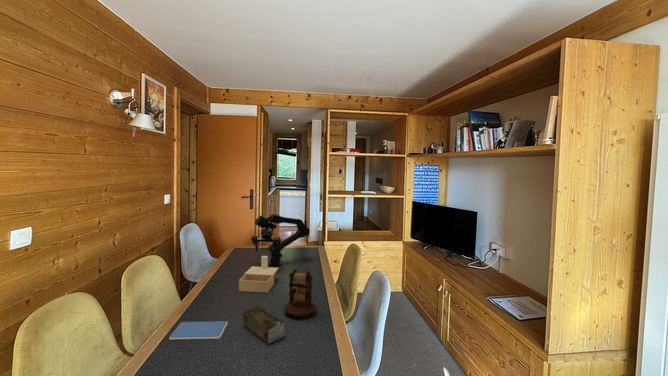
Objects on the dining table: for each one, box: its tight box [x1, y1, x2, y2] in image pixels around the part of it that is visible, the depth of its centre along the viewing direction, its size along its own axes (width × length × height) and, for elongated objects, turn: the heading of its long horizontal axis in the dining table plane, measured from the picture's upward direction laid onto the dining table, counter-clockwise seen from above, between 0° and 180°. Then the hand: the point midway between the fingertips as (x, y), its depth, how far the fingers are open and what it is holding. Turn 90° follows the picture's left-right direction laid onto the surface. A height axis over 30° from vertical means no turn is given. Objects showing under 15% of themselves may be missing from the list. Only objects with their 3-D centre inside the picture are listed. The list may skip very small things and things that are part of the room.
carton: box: [238, 274, 275, 294], centre depth 166 cm, size 12×16×6 cm
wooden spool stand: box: [283, 268, 317, 319], centre depth 139 cm, size 15×15×20 cm
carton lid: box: [243, 255, 279, 276], centre depth 174 cm, size 12×16×8 cm
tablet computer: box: [168, 320, 229, 341], centre depth 122 cm, size 19×13×1 cm, turn 95°
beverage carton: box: [243, 306, 285, 344], centre depth 123 cm, size 8×19×7 cm, turn 45°
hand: (263, 252), depth 187 cm, fingers open, 9 cm apart
